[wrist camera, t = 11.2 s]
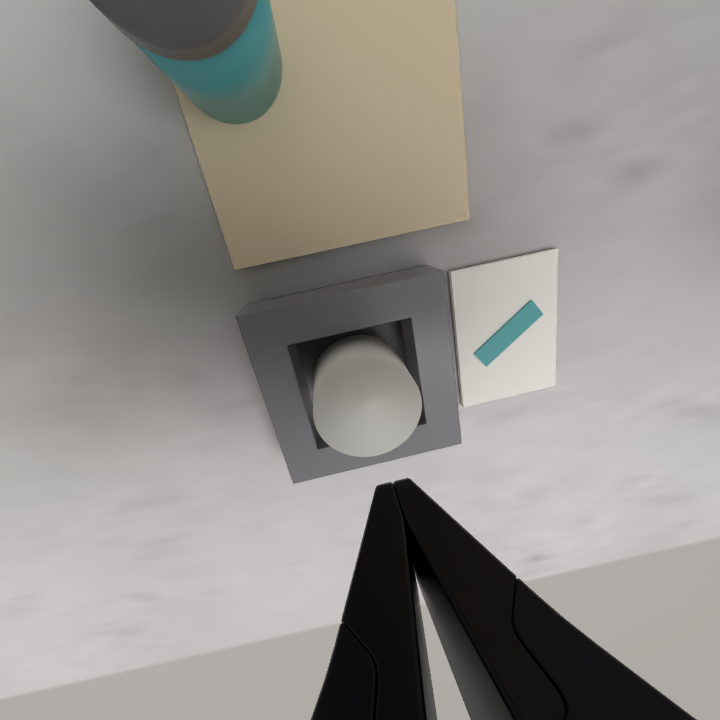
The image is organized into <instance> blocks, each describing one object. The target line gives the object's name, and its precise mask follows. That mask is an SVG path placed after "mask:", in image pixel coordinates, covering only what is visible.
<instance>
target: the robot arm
mask: <svg viewBox="0 0 720 720" xmlns="http://www.w3.org/2000/svg"><path fill="white" fill-rule="evenodd" d="M415 574H416V576H415ZM416 578H417V581H418V584H419V586H420V589H421V592H422V594H423V597H424V600H425V602H426V605H427V607H428V610H429V613H430V615H431V618H432V620H433V623H434V626H435V628H436V631H437V633H438V636H439V638H440V641H441V644H442V646H443V649H444V651H445V654H446V657H447V659H448V662H449V664H450V667H451V669H452V672H453V675H454V677H455V680H456V682H457V685H458V687H459V690H460V693H461V695H462V698H463V701H464V703H465V706H466V708H467V711H468V714H469V716H470V719H471V720H696V719H695V718H694V717H692V716H691V715H690V714H688V713H687V712H686V711H684V710H683V709H681V708H680V707H679V706H678V705H676V704H675V703H674V702H672V701H671V700H670V699H668V698H667V697H666V696H664V695H663V694H662V693H661V692H659V691H658V690H657V689H655V688H654V687H653V686H651V685H650V684H649V683H648V682H646V681H645V680H644V679H642V678H641V677H640V676H638V675H637V674H636V673H634V672H633V671H632V670H630V669H629V668H628V667H626V666H625V665H624V664H623V663H621V662H620V661H618V660H617V659H616V658H615V657H613V656H612V655H611V654H609V653H608V652H607V651H605V650H604V649H603V648H602V647H600V646H599V645H597V644H596V643H595V642H594V641H592V640H591V639H590V638H589V637H587V636H586V635H585V634H584V633H582V632H581V631H580V630H579V629H577V628H576V627H575V626H573V625H572V624H571V623H570V622H568V621H567V620H566V619H565V618H563V617H562V616H561V615H560V614H559V613H558V612H556V611H555V610H554V609H553V608H552V607H551V606H549V605H548V604H547V603H546V602H545V601H544V600H543V599H541V598H540V597H539V596H538V595H537V594H536V593H535V592H534V591H532V590H531V589H530V588H529V587H528V586H527V585H526V584H525V583H524V582H523V581H522V580H520V579H516V575H515V574H514V573H513V572H511V571H510V570H509V569H508V568H507V567H506V566H505V565H504V564H503V563H502V562H500V561H499V560H498V559H497V558H496V557H495V556H494V555H493V554H492V553H491V552H490V551H488V550H487V549H486V548H485V547H484V546H483V545H482V544H481V543H480V542H479V541H478V540H476V539H475V538H474V537H473V536H472V535H471V534H470V533H469V532H468V531H467V530H465V529H464V528H463V527H462V526H461V525H460V524H459V523H458V522H457V521H456V520H455V519H453V518H452V517H451V516H450V515H449V514H448V513H447V512H446V511H445V510H444V509H442V508H441V507H440V506H439V505H438V504H437V503H436V502H435V501H434V500H433V499H432V498H430V497H429V496H428V495H427V494H426V493H425V492H424V491H423V490H422V489H421V488H419V487H418V486H417V485H416V484H415V483H414V482H413V481H412V480H411V479H409V478H406V479H402V480H397V481H395V482H394V483H393V484H392V483H391V482H389V483H385V484H381V485H378V486H377V487H376V489H375V492H374V496H373V500H372V504H371V508H370V512H369V515H368V519H367V523H366V527H365V531H364V535H363V539H362V542H361V546H360V550H359V554H358V558H357V562H356V566H355V569H354V573H353V577H352V581H351V585H350V589H349V593H348V596H347V600H346V604H345V608H344V612H343V616H342V623H341V624H340V627H339V630H338V634H337V638H336V642H335V646H334V649H333V653H332V656H331V660H330V663H329V667H328V671H327V673H326V677H325V680H324V683H323V686H322V689H321V692H320V695H319V698H318V701H317V703H316V707H315V709H314V712H313V715H312V718H311V720H437V715H436V708H435V701H434V694H433V688H432V681H431V674H430V668H429V661H428V654H427V647H426V641H425V634H424V627H423V621H422V614H421V607H420V600H419V594H418V587H417V582H416Z"/></svg>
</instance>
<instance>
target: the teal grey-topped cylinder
mask: <svg viewBox="0 0 720 720" xmlns="http://www.w3.org/2000/svg"><path fill="white" fill-rule="evenodd" d="M90 1H91V2H92V3H93V4H94V5H95V6H96V7H97V8H98V9H99V10H100V11H101V12H102V13H103V14H104V15H105V16H106V17H107V18H108V19H109V20H110V21H111V22H112V23H113V24H114V25H115V26H116V27H117V28H118V30H119V31H121V32H122V33H123V34H124V35H125V36H127V37H128V38H129V39H130V40H132V41H133V42H134V43H135V44H136V45H137V46H138V47H139V48H140V49H141V50H142V51H143V52H144V53H145V54H146V55H147V56H148V57H149V58H150V59H151V60H152V61H153V62H154V63H155V64H156V65H157V66H158V67H159V68H160V69H161V70H162V71H163V72H164V73H165V74H166V76H167V77H168V78H169V79H170V80H171V81H172V82H173V83H174V84H175V85H176V86H177V87H178V88H179V89H180V90H181V91H182V92H183V93H184V94H185V95H186V96H187V97H188V98H189V99H190V100H191V101H192V102H193V103H194V104H195V105H196V106H197V107H198V108H199V109H200V110H201V111H202V112H204V113H205V114H207V115H208V116H210V117H211V118H213V119H216V120H218V121H221V122H224V123H228V124H245V123H249V122H252V121H254V120H256V119H258V118H260V117H261V116H262V115H264V114H265V113H266V112H267V111H268V110H269V109H270V107H271V106H272V105H273V103H274V101H275V100H276V97H277V95H278V93H279V89H280V86H281V80H282V58H281V52H280V47H279V42H278V37H277V32H276V28H275V23H274V18H273V13H272V8H271V3H270V0H90Z"/></svg>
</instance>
